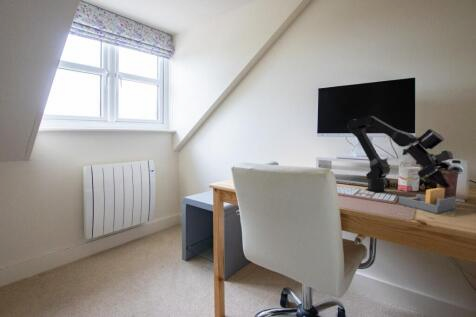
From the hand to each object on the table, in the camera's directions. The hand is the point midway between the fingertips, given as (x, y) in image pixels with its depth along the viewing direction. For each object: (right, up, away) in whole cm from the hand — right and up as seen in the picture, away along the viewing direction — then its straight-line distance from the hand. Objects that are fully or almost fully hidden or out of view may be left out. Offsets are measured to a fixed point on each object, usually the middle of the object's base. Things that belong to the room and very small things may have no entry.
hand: (451, 186), depth 102 cm
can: (-1, -8, +2) cm, 8 cm away
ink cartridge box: (+1, -5, +26) cm, 27 cm away
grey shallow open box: (-11, -8, -2) cm, 14 cm away
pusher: (-10, -8, -4) cm, 14 cm away
